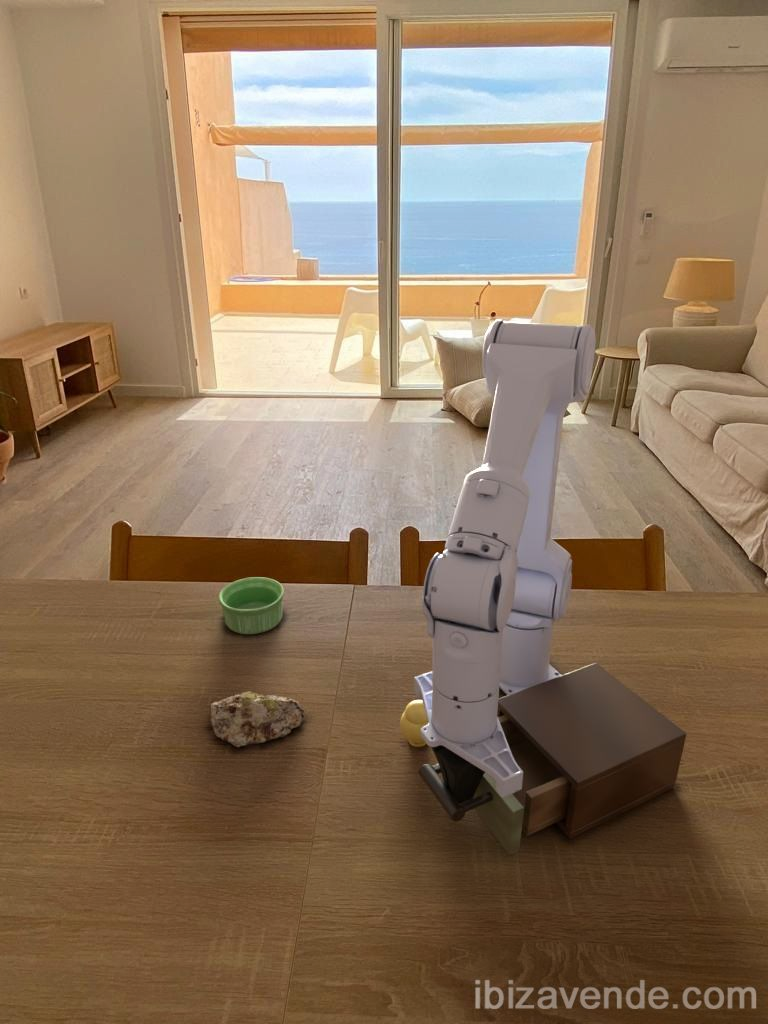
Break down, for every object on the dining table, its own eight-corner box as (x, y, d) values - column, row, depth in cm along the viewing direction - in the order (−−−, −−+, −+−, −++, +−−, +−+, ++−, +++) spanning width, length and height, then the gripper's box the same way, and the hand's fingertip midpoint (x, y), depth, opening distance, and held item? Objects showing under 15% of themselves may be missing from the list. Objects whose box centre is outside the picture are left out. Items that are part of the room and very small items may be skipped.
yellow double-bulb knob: (393, 734, 77) (393, 697, 75) (424, 722, 79) (425, 687, 77) (410, 757, 74) (411, 720, 72) (443, 745, 76) (444, 708, 74)
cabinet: (569, 839, 65) (577, 782, 62) (491, 751, 75) (495, 699, 72) (674, 787, 70) (687, 733, 67) (588, 712, 80) (596, 662, 78)
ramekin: (263, 595, 104) (260, 570, 103) (298, 620, 98) (296, 593, 96) (210, 618, 99) (206, 592, 97) (244, 645, 93) (241, 618, 91)
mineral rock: (200, 738, 74) (212, 675, 80) (205, 759, 77) (217, 697, 83) (302, 737, 74) (306, 675, 80) (303, 759, 77) (307, 697, 83)
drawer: (466, 876, 60) (469, 832, 58) (404, 785, 70) (404, 745, 67) (614, 804, 67) (622, 763, 65) (540, 730, 77) (544, 692, 74)
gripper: (385, 648, 63) (387, 759, 69) (473, 751, 52) (467, 875, 58) (451, 627, 66) (447, 736, 72) (549, 721, 55) (535, 842, 60)
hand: (460, 796), depth 65 cm, fingers closed, pressing on drawer
